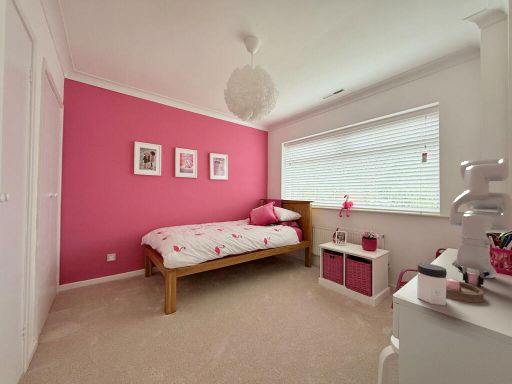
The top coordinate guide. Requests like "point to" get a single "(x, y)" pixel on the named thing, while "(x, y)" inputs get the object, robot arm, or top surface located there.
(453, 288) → the bead
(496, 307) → the top surface
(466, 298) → the tray
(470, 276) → the bead
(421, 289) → the jar
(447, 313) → the top surface
